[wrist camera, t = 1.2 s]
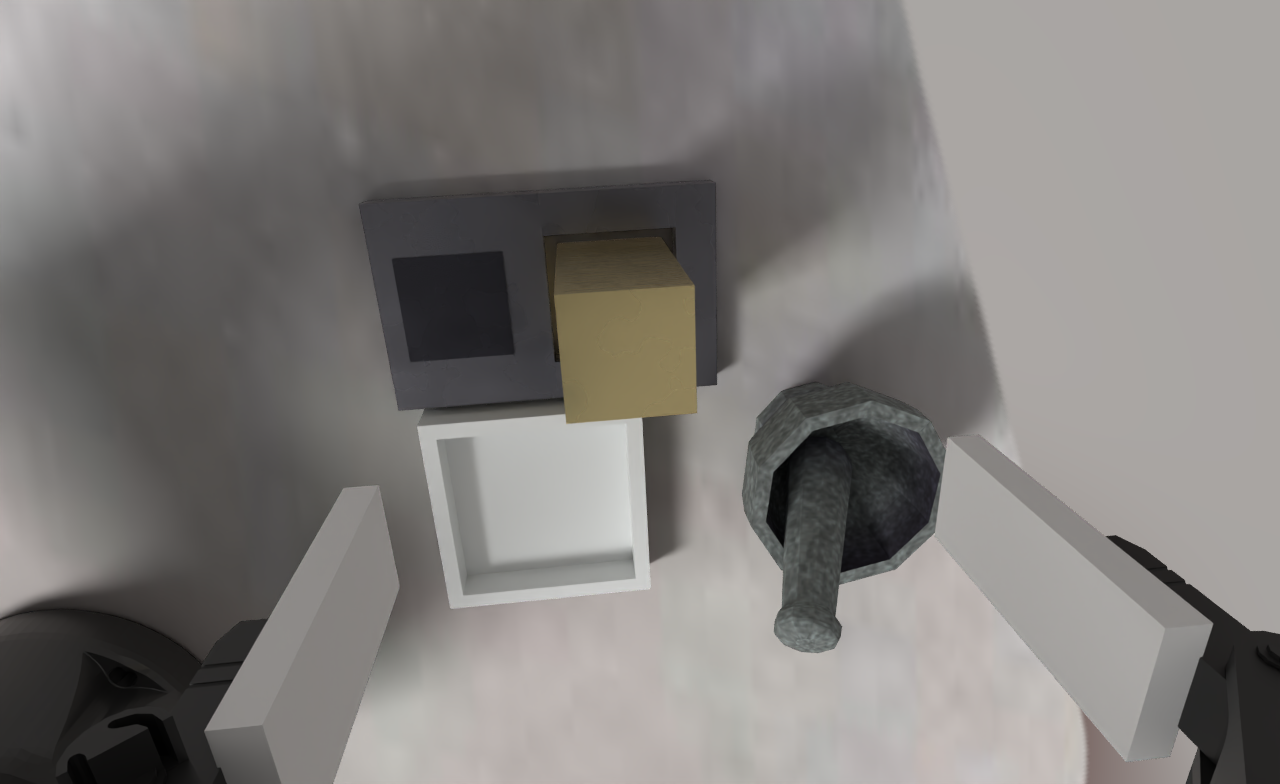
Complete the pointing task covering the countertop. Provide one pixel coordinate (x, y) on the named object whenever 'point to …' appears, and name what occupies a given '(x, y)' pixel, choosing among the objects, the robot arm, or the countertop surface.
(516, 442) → the white tray
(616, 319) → the brass block
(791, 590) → the mortar and pestle
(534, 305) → the dark grey flat slab
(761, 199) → the countertop surface
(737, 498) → the countertop surface
